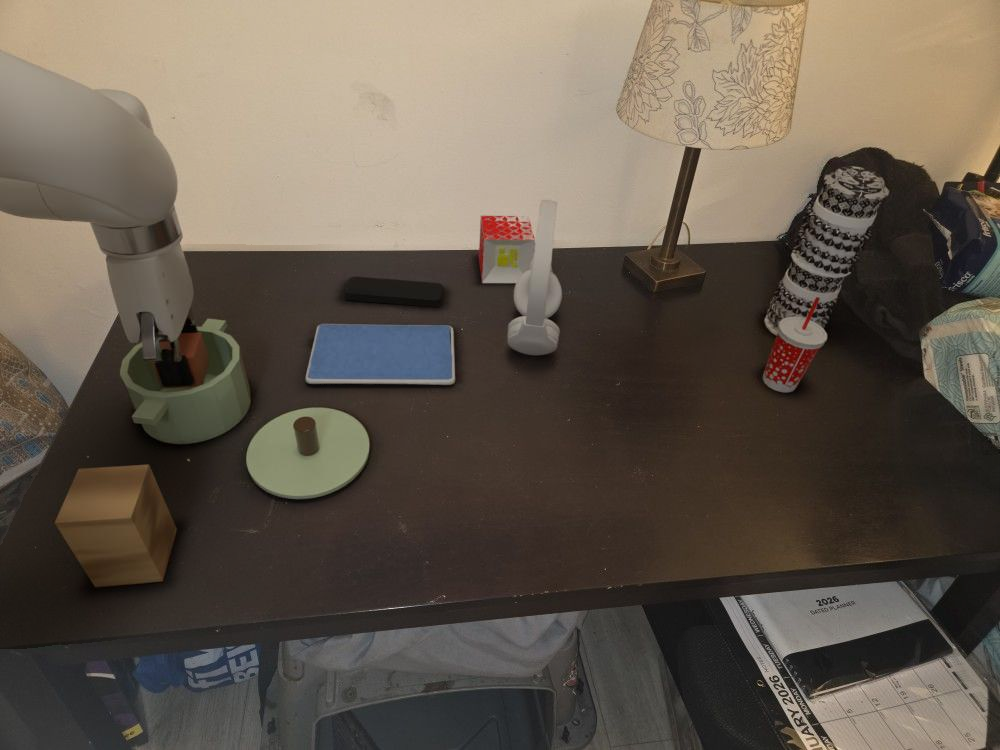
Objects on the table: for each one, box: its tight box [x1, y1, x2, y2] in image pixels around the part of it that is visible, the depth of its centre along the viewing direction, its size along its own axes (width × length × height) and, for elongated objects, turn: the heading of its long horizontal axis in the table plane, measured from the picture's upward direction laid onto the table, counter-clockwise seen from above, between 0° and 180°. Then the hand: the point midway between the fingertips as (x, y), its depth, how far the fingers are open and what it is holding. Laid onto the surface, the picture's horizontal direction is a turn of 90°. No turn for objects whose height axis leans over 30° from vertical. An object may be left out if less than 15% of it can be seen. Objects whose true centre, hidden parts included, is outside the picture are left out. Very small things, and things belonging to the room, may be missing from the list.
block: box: [151, 332, 210, 388], centre depth 75 cm, size 4×4×4 cm
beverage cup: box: [762, 297, 828, 393], centre depth 86 cm, size 6×6×14 cm
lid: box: [245, 407, 371, 500], centre depth 73 cm, size 14×14×5 cm
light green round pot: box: [119, 318, 252, 445], centre depth 77 cm, size 13×18×8 cm
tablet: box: [305, 323, 456, 386], centre depth 88 cm, size 19×13×1 cm, turn 94°
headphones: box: [506, 199, 563, 356], centre depth 88 cm, size 7×18×20 cm, turn 174°
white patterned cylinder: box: [763, 165, 890, 336], centre depth 93 cm, size 9×9×25 cm
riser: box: [54, 464, 178, 588], centre depth 60 cm, size 6×6×10 cm
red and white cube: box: [478, 215, 536, 284], centre depth 106 cm, size 8×8×8 cm
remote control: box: [343, 275, 445, 308], centre depth 100 cm, size 5×2×15 cm
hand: (183, 367), depth 75 cm, fingers open, 4 cm apart
